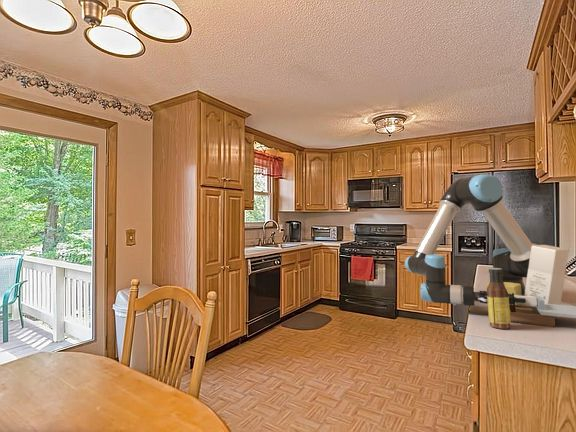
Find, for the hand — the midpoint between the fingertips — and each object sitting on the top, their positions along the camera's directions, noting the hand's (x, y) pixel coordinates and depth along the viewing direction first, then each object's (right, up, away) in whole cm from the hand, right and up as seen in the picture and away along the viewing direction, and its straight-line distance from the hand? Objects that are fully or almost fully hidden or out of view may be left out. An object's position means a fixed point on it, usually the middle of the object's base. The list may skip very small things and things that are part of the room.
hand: (536, 300), depth 120 cm
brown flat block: (-2, -7, +1) cm, 7 cm away
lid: (+6, -3, -3) cm, 8 cm away
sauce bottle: (-18, -7, -7) cm, 20 cm away
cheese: (+1, -8, +19) cm, 20 cm away
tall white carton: (+12, -7, +14) cm, 20 cm away
